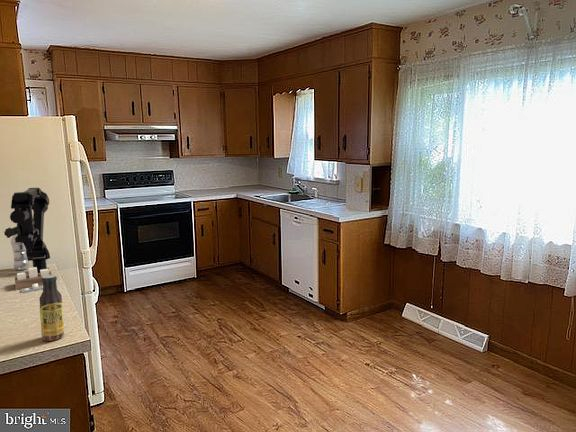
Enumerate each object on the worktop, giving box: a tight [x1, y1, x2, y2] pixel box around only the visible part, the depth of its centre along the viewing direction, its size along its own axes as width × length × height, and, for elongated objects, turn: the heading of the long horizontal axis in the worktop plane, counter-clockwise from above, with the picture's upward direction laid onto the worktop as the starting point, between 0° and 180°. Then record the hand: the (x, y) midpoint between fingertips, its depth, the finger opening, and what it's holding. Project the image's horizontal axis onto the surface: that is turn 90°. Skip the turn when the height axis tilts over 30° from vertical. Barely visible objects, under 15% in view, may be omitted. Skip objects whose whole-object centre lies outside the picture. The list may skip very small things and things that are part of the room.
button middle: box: [27, 266, 38, 278], centre depth 189 cm, size 3×3×5 cm
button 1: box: [16, 271, 27, 280], centre depth 187 cm, size 3×3×5 cm
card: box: [20, 283, 43, 294], centre depth 183 cm, size 4×10×2 cm, turn 123°
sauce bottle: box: [39, 274, 65, 342], centre depth 133 cm, size 6×6×20 cm
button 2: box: [40, 268, 50, 276], centre depth 192 cm, size 3×3×5 cm
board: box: [14, 270, 53, 291], centre depth 190 cm, size 10×14×4 cm
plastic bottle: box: [10, 234, 30, 271], centre depth 213 cm, size 6×7×20 cm
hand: (29, 253), depth 196 cm, fingers closed
